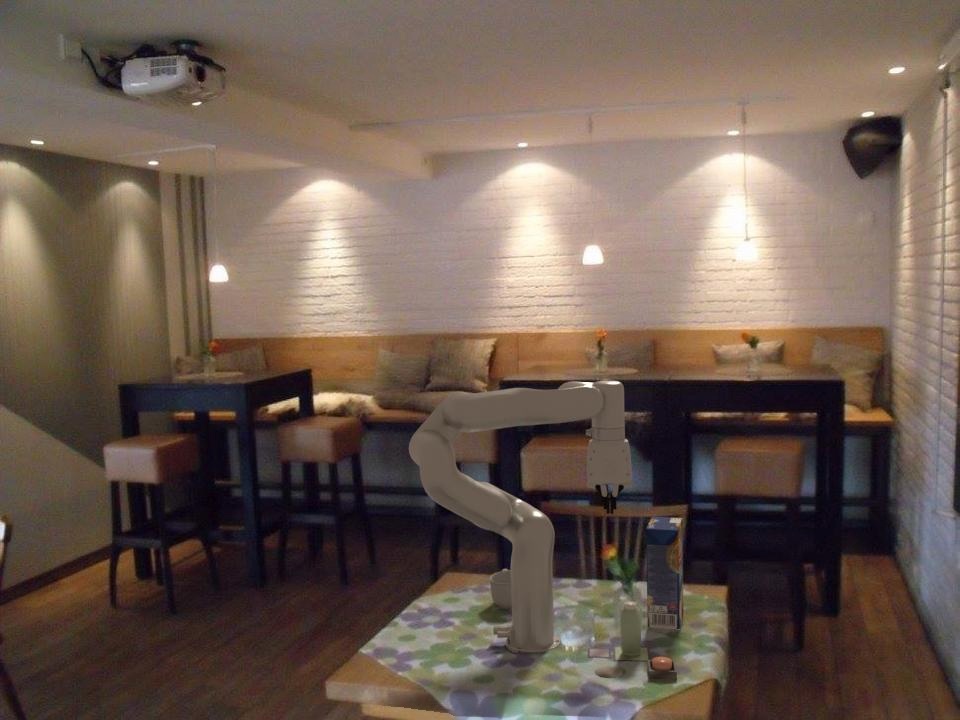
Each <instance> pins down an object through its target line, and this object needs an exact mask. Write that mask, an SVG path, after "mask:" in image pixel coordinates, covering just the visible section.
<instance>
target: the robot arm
mask: <svg viewBox="0 0 960 720" xmlns="http://www.w3.org/2000/svg"><path fill="white" fill-rule="evenodd" d="M589 419H591V428H589V429H585V436H589V437H591V438H592V439H590V440H589V441H588V446H587V457H586V476H587V477H586V478H587V481H586V483H585V485H586V487H587V488H589V489H593V490H596V491H597V492H598V493H599V494H600V495H601V496H602V497H603V499H602V501H603V502H602V503H603V510H606V515H609V514H611V515H614V510H617V497H618V496H619V494H620V493H621V492H622V491H623V490H626V489H629V488H633V487H634V485H633V481H632V476H633V475H632V471H633V468H632V456H631V448H630V443H629V440H628V439H627V438H626V430H625V429H626V423H625V422H626V421H625V419H626V418H625V387H624V384H623V383H622V382H620V381H618V380H600V381H595V382H584V381H568V382H564V383H562V384H561V385H560V386H559V387H558V388H557V389H535V388H528V387H513V388H506V389H505V388H504V389H500V390H491V391H483V392H475V393H468V392H466V391H465V392H464V391H454V392H452V393H450V394H448V395H447V396H446V397H445V398H444V399H443V400H442V401H441V402H440V403H439V404H438V405H437V406H436V408H435V409H434V410H433V411H432V412H431V413H430V415H429V416H428V417H427V418H426V419H425V420H424V422H423V423H421V425H420V426H419V427H418V428H417V430H416V431H415V432H414V433H413V435H412V437H411V439H410V441H409V444H408V452H409V455H410V458H411V459H412V460H413V462H414V463H415V464H416V465H417V466H419V474H420V481H421V484H422V487H423V489H424V491H425V493H426V494H427V495H428V497H429V498H430V499H431V500H432V501H434V502H435V503H436V504H438V505H440V506H441V507H443V508H445V509H446V510H449V511H450V512H452V513H454V514H456V515H457V516H459V517H462V518H463V519H465V520H467V521H469V522H471V523H472V524H474V525H475V526H476V527H479V529H483V530H487V531H492V532H494V533H496V534H498V535H500V536H502V537H503V538H506V539H507V540H508V541H509V542H511V544H512V552H511V557H510V570H511V595H512V609H511V618H512V620H511V624H509V625H508V624H507V625H506V626H501V625H499V626H498V625H496V626H495V625H494V626H493V628H492V629H493V636H496V635H497V637H496V638H498V639H503V638H506V640H505V646H506V648H507V650H509V651H510V652H512V653H515V654H518V653H519V652H523V653H541V652H548V651H551V650H555V649H556V648H558V647H559V646H560V645H561V644H562V639H561V638H560V636H558V635H557V634H555V622H554V619H555V615H554V584H553V583H554V581H553V579H554V578H553V555H554V546H555V538H556V537H555V528H554V526H553V523H552V521H551V520H550V518H549V517H548V516H547V515H546V514H545V513H543V512H542V511H541V510H539V509H537V508H535V507H534V506H532V505H531V504H530V503H527V502H526V501H525V500H524V501H523V500H522V499H520V498H518V497H516V496H515V495H512V494H510V493H508V492H506V491H505V490H502V489H500V488H499V487H497V486H496V485H493V484H492V483H489V482H487V481H486V482H485V481H477V480H475V479H473V478H472V477H470V476H469V475H466V474H465V473H463V472H461V471H460V470H459V468H458V466H457V462H456V450H455V447H454V445H453V444H454V443H455V442H456V440H457V439H458V437H460V435H461V434H462V433H477V432H484V431H490V430H499V429H504V428H505V429H506V428H512V427H519V426H536V425H537V426H538V425H548V424H562V423H570V422H575V421H577V422H578V421H582V420H589ZM607 485H608V486H609V485H611V486H612V490H611V492H610V494H609V491H608V490H607Z"/></svg>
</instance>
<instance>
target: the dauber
mask: <svg viewBox="0 0 960 720" xmlns="http://www.w3.org/2000/svg"><path fill="white" fill-rule="evenodd" d="M637 605H638V604H637V602H635V601H625V602H624V603H623V606H620V608H619V613H620V614H619V618H620V619H619V624H620V626H619V627H620V647H621V650H622V655H624V656H626V657H638V656H640V651H641V647H642V623H641V622H642V621H641V620H642V619H641V617H642V615H641V608H640V607H638V606H637Z"/></svg>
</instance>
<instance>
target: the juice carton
mask: <svg viewBox="0 0 960 720" xmlns="http://www.w3.org/2000/svg"><path fill="white" fill-rule="evenodd" d="M683 536H684V535H683V517H665V516H664V517H663V516H662V517H661V516H651V518H650V519H649V522H648V524H647V525H646V527H645V539H646V541H645V542H646V543H645V545H646V547H645V548H646V551H645V552H646V553H645V555H646V605H647V607H646V608H647V613H646V614H647V628H648V627H651V629H661V628H668V629H667V630H674V629H681V625H682V622H683V617H684V613H685V612H684V559H683V558H684V551H683V547H684V546H683V545H684V541H683Z"/></svg>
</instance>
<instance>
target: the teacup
mask: <svg viewBox="0 0 960 720" xmlns="http://www.w3.org/2000/svg"><path fill="white" fill-rule="evenodd" d="M489 581H490V593H491V599H492V601H493V602H494V603H495V604H496V605H497V606H499V608H502V609H504V610H512V595H511V569H508V568H503V569H501V571H498V572H494V573H493V574H492V575H490V576H489Z"/></svg>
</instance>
